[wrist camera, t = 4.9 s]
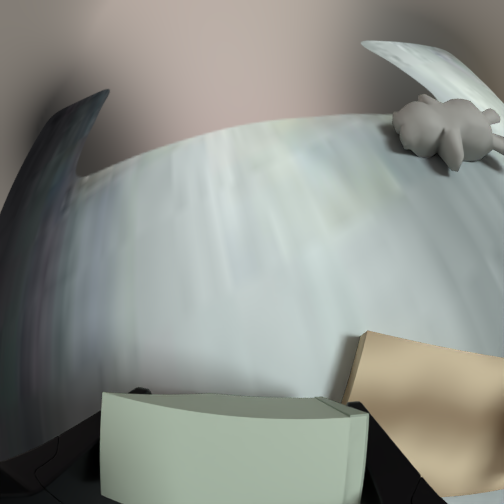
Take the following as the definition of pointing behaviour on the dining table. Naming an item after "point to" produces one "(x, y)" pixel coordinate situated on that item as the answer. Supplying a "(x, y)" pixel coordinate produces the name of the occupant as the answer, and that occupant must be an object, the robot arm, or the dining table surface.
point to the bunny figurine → (447, 130)
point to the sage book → (231, 449)
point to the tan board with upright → (435, 409)
